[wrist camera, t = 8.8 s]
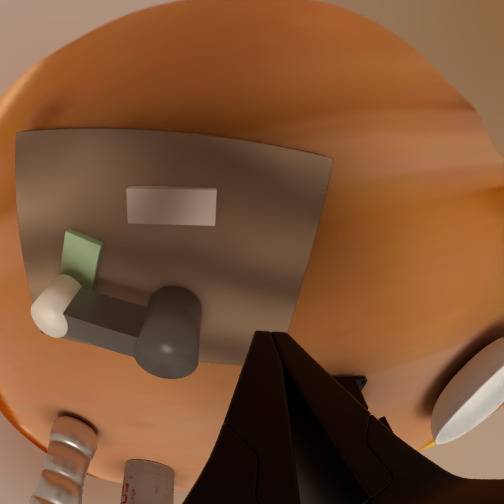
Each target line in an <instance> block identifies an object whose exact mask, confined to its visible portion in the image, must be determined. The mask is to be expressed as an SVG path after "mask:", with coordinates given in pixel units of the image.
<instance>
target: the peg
mask: <svg viewBox="0 0 504 504" xmlns="http://www.w3.org/2000/svg"><path fill="white" fill-rule="evenodd" d="M31 315H32V318H33V320H34V322H35V324H36V325H37V326H38V327H39V329H41V330H42V331H43V332H44V333H46V334H47V335H49V336H52V337H56V338H59V337H63V336H64V335H67V336H70V337H73V338H76V339H78V340H81V341H84V342H87V343H90V344H93V345H96V346H99V347H102V348H106V349H109V350H112V351H115V352H119V353H122V354H126V355H129V356H133V357H135V359H136V361H137V363H138V364H139V365H140V366H141V367H142V368H143V369H144V370H146V371H147V372H149V373H150V374H153V375H155V376H158V377H161V378H167V379H178V378H182V377H186V376H188V375H190V374H191V373H192V372H194V370H195V369H196V368H197V365H198V360H199V344H200V330H201V317H202V307H201V304H200V302H199V300H198V299H197V297H196V296H195V295H194V294H192V293H191V292H190V291H188V290H186V289H184V288H180V287H174V286H169V287H164V288H161V289H159V290H157V291H156V292H155V293H154V294H153V295H152V296H151V298H150V300H149V303H148V306H147V307H146V306H142V305H138V304H135V303H131V302H128V301H124V300H121V299H117V298H114V297H110V296H107V295H104V294H101V293H97V292H94V291H91V290H88V289H85V288H82V286H81V285H80V284H79V282H78V281H77V280H75V279H74V278H73V277H71V276H68V275H64V274H61V275H58V276H56V277H55V278H54V279H53V280H52V281H51V283H50V284H49V285H48V286H47V287H46V288H45V290H44V291H43V292H42V293H41V294H40V296H39V297H38V298H37V299H36V301H35V302H34V303H33V304H32V306H31Z"/></svg>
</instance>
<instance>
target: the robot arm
mask: <svg viewBox="0 0 504 504" xmlns="http://www.w3.org/2000/svg"><path fill="white" fill-rule="evenodd" d="M366 382H367V379H366V377H351V378H335V379H334V378H333V377H332V376H331V375H330V374H329V373H327V372H326V371H325V370H324V369H323V368H322V367H321V366H320V365H319V364H318V363H317V362H316V361H315V360H314V359H313V358H312V357H311V356H310V355H309V354H308V353H307V352H306V351H305V350H304V349H303V348H302V347H301V346H300V345H299V344H298V343H297V342H296V341H295V340H294V339H293V338H292V337H291V336H290V335H289V334H288V333H286V332H277V331H273V332H269V331H260V330H256V331H255V332H254V335H253V338H252V341H251V344H250V347H249V350H248V353H247V356H246V359H245V362H244V365H243V368H242V371H241V374H240V377H239V380H238V383H237V385H236V388H235V391H234V394H233V397H232V400H231V403H230V406H229V408H228V411H227V414H226V417H225V420H224V423H223V425H222V428H221V430H220V433H219V436H218V439H217V441H216V443H215V446H214V448H213V451H212V453H211V455H210V457H209V459H208V461H207V463H206V465H205V467H204V468H203V470H202V472H201V474H200V476H199V477H198V479H197V481H196V482H195V484H194V486H193V487H192V489H191V490H190V492H189V494H188V495H187V497H186V499H185V500H184V502H183V503H182V504H504V479H499V480H498V479H491V480H490V479H467V478H462V477H458V476H455V475H453V474H451V473H449V472H447V471H446V470H444V469H442V468H441V467H439V466H438V465H436V464H435V463H434V462H432V461H431V460H429V459H428V458H426V457H425V456H423V455H422V454H420V453H419V452H418V451H416V450H415V449H413V448H412V447H411V446H409V445H408V444H407V443H405V442H404V441H403V440H401V439H400V438H399V437H397V436H396V435H395V434H394V433H393V431H392V429H391V428H390V426H389V424H388V422H387V420H386V418H385V416H384V417H381V418H379V420H378V419H377V418H376V417H374V416H373V415H370V412H369V411H368V406H367V404H366V401H365V399H364V397H363V395H362V392H361V390H362V389H363V387H364V386H365V384H366Z"/></svg>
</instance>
